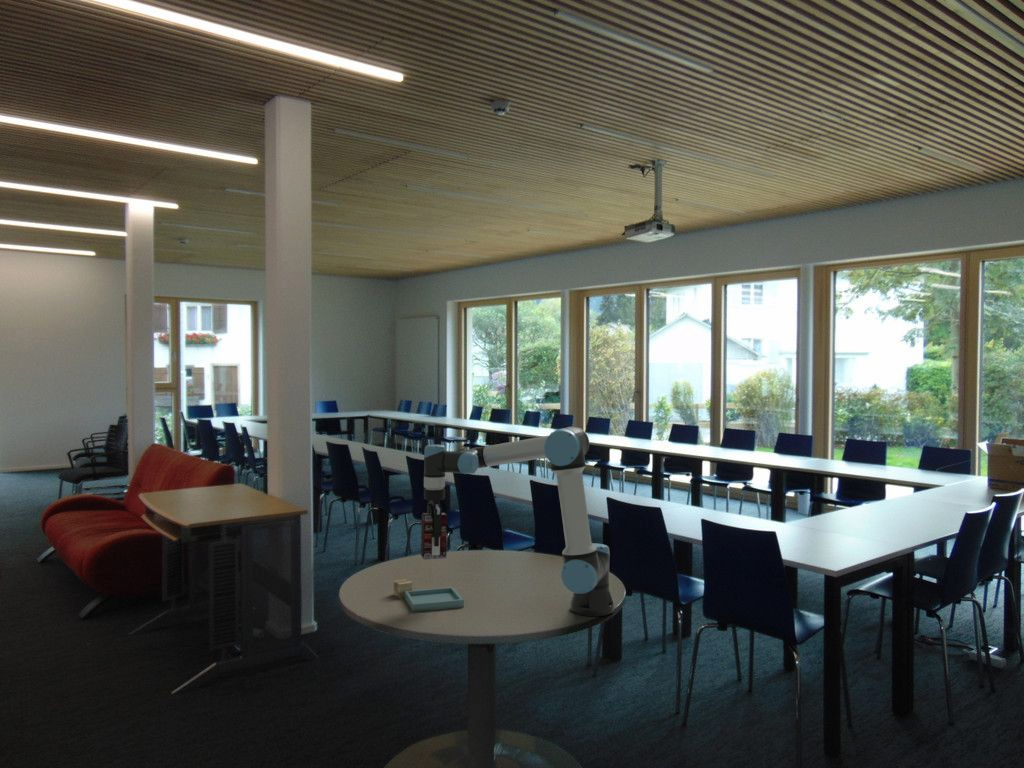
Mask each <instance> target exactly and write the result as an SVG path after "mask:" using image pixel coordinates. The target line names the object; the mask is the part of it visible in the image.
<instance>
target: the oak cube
mask: <svg viewBox="0 0 1024 768" xmlns="http://www.w3.org/2000/svg"><path fill="white" fill-rule="evenodd" d="M405 591H413V582H412V581H410V580H408V579H407V578H404V579H400V580H399V579H398V580H393V595H394V596H396V597H397V598H399V599H401V598H405Z"/></svg>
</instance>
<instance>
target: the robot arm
mask: <svg viewBox="0 0 1024 768" xmlns="http://www.w3.org/2000/svg"><path fill="white" fill-rule="evenodd" d="M589 448H590V439H589V436H588V434H587V433H586V431H584V429H582V428H581V427H578V426H574V425H573V426H567V427H564V428H557V429H556V430H554V431H552V432H550V434H549V435H546V436H539V437H533V438H527V439H521V440H516V441H509V442H503V443H499V444H493V445H492V444H490V445H486V446H481V447H479V446H475V447H472V448H470V449H465V450H462V451H449V450H447V449H446V446H445V445H444V444H428V445H426V446H425V447H424V452H423V453H424V455H423V459H424V460H423V461H424V463H423V464H424V465H423V468H424V469H423V470H424V471H423V488H424V489H423V499H424V500H426V501H428V502H427V503H426V508H427V510H426V511H427V512H426V513H430V514H431V517H432V528H433V536H431V537H432V555H440V536H442V512H443V509H442V505H441V504H440V501H443V500H445V499H446V489H445V487H446V481H447V480H448V479H447V478H446V473H453V474H464V475H467V474H468V475H469V474H470V475H471V474H475V473H476V472H477V470H478V469H481V468H488V467H493V466H501V465H507V464H514V463H521V462H528V461H533V460H541V459H547V461H549V463H550V470H551V471H550V472H552V473H553V474H554V475H556V483H557V490H558V498H559V503H560V504H559V505H560V510H561V511H560V512H561V519H562V526H563V534H564V541H565V548H563V550H562V552H561V554H562V561H563V566H562V568H561V573H560V577H561V581H562V584H563V585H564V586H565V588H566V589H568V591H570V592H571V593H572V597H571V600H570V604H569V606H570V611H571V612H573V613H575V614H578V615H581V616H585V617H586V616H587V617H603V616H608V615H610V614H613V613H614V611H615V604H614V600H613V597H612V594H611V590H610V557H611V553H610V547H609V546H608V545H606V544H603V543H597V542H596V543H593V542H592V536H591V530H590V521H589V514H588V507H587V500H586V493H585V485H584V478H583V471H584V469H586V467H587V466H586V458H585V455H587V453H588V451H589Z"/></svg>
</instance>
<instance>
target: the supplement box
mask: <svg viewBox="0 0 1024 768" xmlns="http://www.w3.org/2000/svg"><path fill="white" fill-rule="evenodd" d="M420 533H421V536H420V539H421V541H420V551H421V552H420V556H421V558H422V560H423V561H426V560H442V559H447V553H448V552H447V550H448V549H447V548H448V547H447V545H448V544H447V543H448V542H447V541H448V539H447V538H448V537H447V536H448V514H447V513H446V512H444V511H442V536H440V555H432V537H431V536H433V528H432V517H431V514H430V513H427V512H422V513H421V531H420Z"/></svg>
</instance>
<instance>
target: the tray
mask: <svg viewBox="0 0 1024 768" xmlns="http://www.w3.org/2000/svg"><path fill="white" fill-rule="evenodd" d="M404 599H405V601H406V602H407V604H408V605H409V607H410V609H411V610H412V612H413V613H415V612H424V611H426V612H427V611H436V610H445V609H456V608H464V607H465V600H464V598H463V596H461V594H460V593H459V592H458V591H457V590H456V589H455V588H454V587H453V586H449V587H448V586H447V587H437V588H436V587H435V588H428V589H426V588H425V589H424V588H423V589H416V590H415V589H414V590H413V589H412V591H405V597H404Z"/></svg>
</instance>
